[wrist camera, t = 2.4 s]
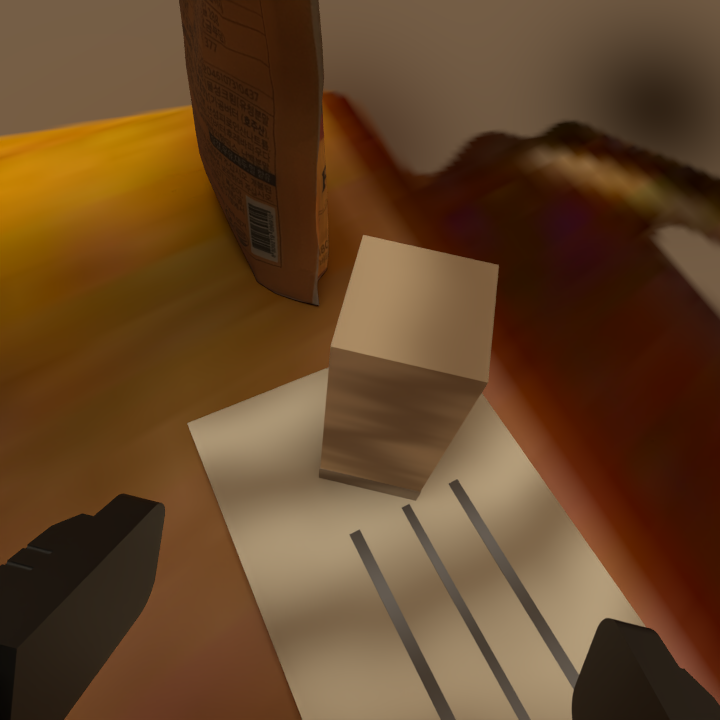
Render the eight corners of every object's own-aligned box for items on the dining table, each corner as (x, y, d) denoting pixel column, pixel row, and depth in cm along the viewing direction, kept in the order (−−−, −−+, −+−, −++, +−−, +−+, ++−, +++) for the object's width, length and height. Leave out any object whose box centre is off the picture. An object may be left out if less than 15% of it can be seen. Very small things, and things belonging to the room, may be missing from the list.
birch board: (193, 436, 26) (187, 423, 25) (429, 340, 30) (434, 325, 29) (418, 1016, 17) (428, 1045, 15) (713, 756, 21) (740, 761, 20)
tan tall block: (318, 477, 24) (329, 347, 15) (341, 392, 26) (362, 234, 17) (415, 500, 24) (488, 383, 15) (429, 413, 26) (499, 264, 17)
